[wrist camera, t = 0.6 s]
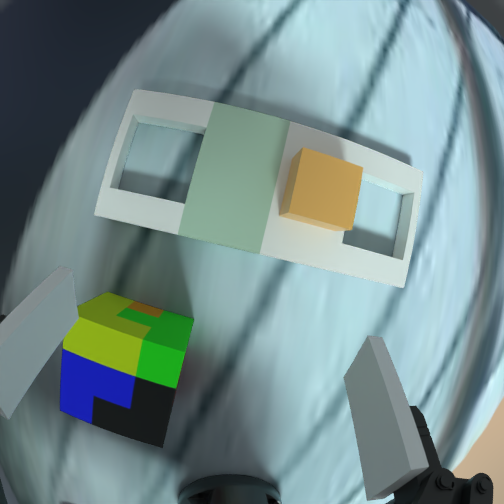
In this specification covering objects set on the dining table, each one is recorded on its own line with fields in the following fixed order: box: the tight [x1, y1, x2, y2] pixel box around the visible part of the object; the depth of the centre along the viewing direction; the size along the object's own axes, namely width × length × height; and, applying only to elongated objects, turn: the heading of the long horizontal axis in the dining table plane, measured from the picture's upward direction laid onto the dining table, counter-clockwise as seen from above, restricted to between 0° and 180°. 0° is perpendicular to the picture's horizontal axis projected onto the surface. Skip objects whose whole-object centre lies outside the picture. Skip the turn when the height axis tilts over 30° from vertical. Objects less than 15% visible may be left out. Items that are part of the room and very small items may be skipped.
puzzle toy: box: [60, 292, 194, 448], centre depth 26 cm, size 10×10×10 cm
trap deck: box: [94, 89, 423, 288], centre depth 30 cm, size 14×34×2 cm, turn 77°
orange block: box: [279, 147, 363, 231], centre depth 28 cm, size 6×6×4 cm
